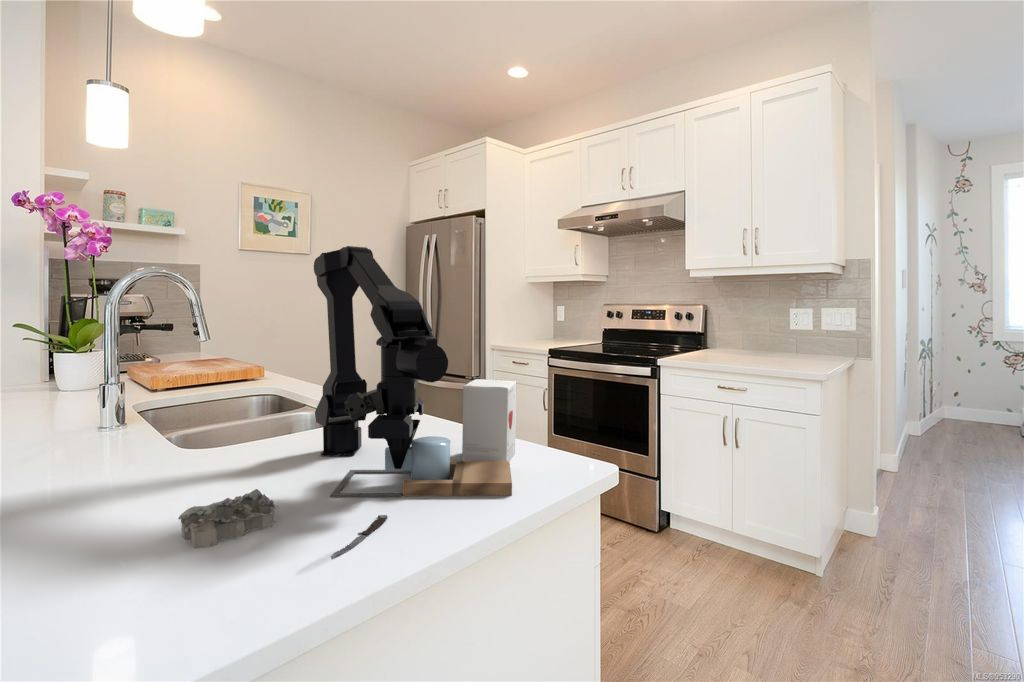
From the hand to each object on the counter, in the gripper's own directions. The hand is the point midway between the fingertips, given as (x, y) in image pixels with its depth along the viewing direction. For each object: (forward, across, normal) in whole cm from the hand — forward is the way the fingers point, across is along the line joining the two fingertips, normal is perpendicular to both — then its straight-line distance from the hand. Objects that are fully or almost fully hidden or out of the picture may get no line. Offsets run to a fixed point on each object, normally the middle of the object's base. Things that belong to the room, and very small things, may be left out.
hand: (399, 466), depth 87 cm
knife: (+3, +21, -3) cm, 22 cm away
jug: (+3, 0, +3) cm, 4 cm away
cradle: (+3, 0, +10) cm, 11 cm away
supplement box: (+3, -14, +15) cm, 21 cm away
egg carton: (+3, +17, -20) cm, 26 cm away
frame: (+3, 0, -4) cm, 5 cm away
